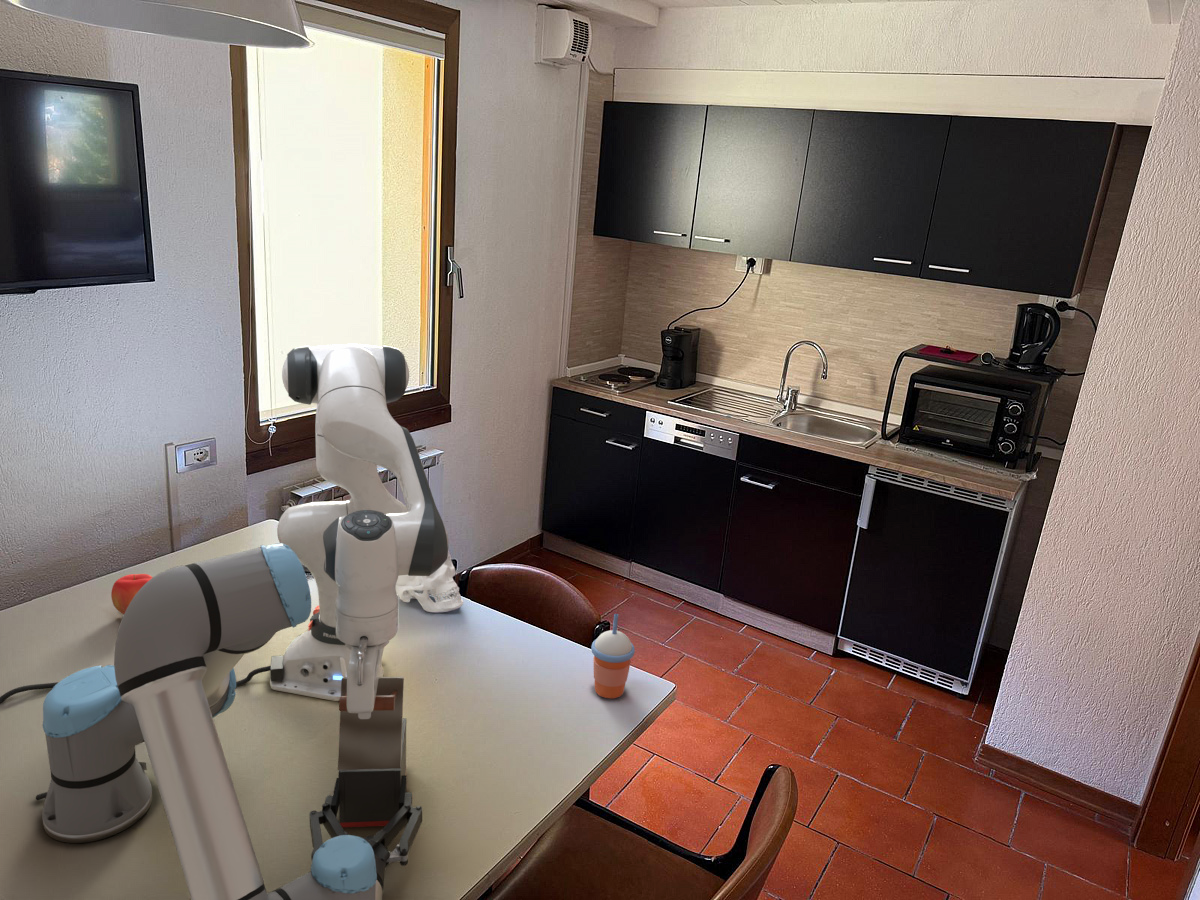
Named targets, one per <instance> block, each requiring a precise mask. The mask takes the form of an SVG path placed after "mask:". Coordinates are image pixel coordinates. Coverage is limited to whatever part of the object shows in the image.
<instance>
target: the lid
mask: <svg viewBox="0 0 1200 900" xmlns="http://www.w3.org/2000/svg"><path fill="white" fill-rule="evenodd" d="M404 683H405V676H383V677H379V680H378V686H377V692H376V698H375V704H374V709H373V711H372V712H371V717H370V718H369V719H359V718H358V713H349V712H348V710H347V677H342V679H341V696H340V699H339V701H338V711H339V726H338V727H339V729H338V730H339V732H338V752H337V754H338V755H337V770H338V771H339V770H357V769H392V768H400V767H401V749H402V720H403V718H404V716H403V715H404V691H405V690H404V688H405V684H404Z"/></svg>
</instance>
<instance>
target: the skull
mask: <svg viewBox="0 0 1200 900" xmlns="http://www.w3.org/2000/svg"><path fill="white" fill-rule="evenodd" d="M456 574H457V572H456V568H455V566H454V564H453V561H452V559H451V554H450V552H449V551H448V557H447V560H446V561H445V562H444V563H443V565H442V566H441V567H440V568H439V569H438V570H436V571H435V572H434V573H433V574H431V575H430V576H408V575H400V576H398V579H397V582H396V593H397V596H398V599H400V600H401V601H402V602H404V603H410V601H411V599H416V600H417V601H418V603H419V604H420V605H421V607H422V609H423V610H424V612H425V611H426V612H427V613H433V614H435V613H436V614H437V613H447V612H451V611H454V610H455V611H456V610H458V609H460V608H463V606H464V602H465V601H464V600H463V599H462V596H461V594H460V587H459V586H458V584H457V583H456V581H455V580H454V577H455V576H456ZM430 596H431V597H433V599H434V600H432V599H431V597H430Z"/></svg>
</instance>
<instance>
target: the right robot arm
mask: <svg viewBox="0 0 1200 900" xmlns="http://www.w3.org/2000/svg"><path fill="white" fill-rule="evenodd" d="M281 379H282V384H283V387H284V389H285V391H286V392H287V395H288V397H289V398H290V399H291V400H292V401H293V402H295V403H299V404H304V405H312V404H316V411H315V428H314V429H315V431H314V432H315V467H316V471H317V474H318V475H319V476H320V477H321V478H322V479H323V480H324V481H326V482H328V483H329V484H332V485H334V486H337V487H339V488H341V489H343V490H345V491H346V492H348V494H349V495H350V498H349V499H347V500H333V501H311V502H306V503H301V504H297V505H294V506H293V505H292V506H289V507H287V508H286V510H284V511H283V513H282V514H281V516H280V517H279V520H278V523H277V528H276V532H277V533H276V534H277V539H278V543H282V544H285V545H287V546H289V547H290V548H291V549H292V550H293V551H294V552H295V554H296V555H297V557H298V558H299V560H300V562H301V563H303V564H304V565H305V566H306V567H307V568H308V570H309V571H310V572H309V573H311V576H312V577H313V579H314V581H315V584H316V589H317V598H318V605H316V607H314V610H313V611H312V615H311V616H310V619H309V623H308V625H307V628H308V629H307V630H306V631H304V632H302V633H301V634H299V635H297V636H296V637H295V638H294V639H293V640H292V641H291V642H290V643H289V644H288V646H287V648H286V649H285V651H284V654H282V655H281V654H280V655H272V656H271V660H270V665H267V666H263V667H259V668H256V669H253V670H251V671H250V672H249V673H248V674H247V676H246V677H244V678H242V679H241V680H238V681H236V688H237V687H240V686H243V685H246V684H247V683H249V682H250V681H251V680H252V678H253V677H255V676H256V675H258V674H262V673H266V672H270V676H269V686H270V688H271V689H272V690H274V691H278V692H283V693H289V694H295V695H300V696H304V697H305V696H306V697H310V698H315V699H316V698H317V699H322V700H327V701H334V702H339V699H340V696H341V679H342V677H347V710H348V712H349V713H358V718H359V719H369V718H370V717H371V712H372V711H373V709H374V704H375V698H376V692H377V686H378V680H379V677H384V668H383V666H382V663H383V662H382V661H383V655H384V649H385V648H386V646H387V645H388V644H389V642H390V641H391V640H392V639H394V638H395V636H397V634H398V631H399V596H398V594H397V593H396V582H397V579H398V576H400V575H408V576H430V575H431V574H433V573H434V572H435V571H436V570H438V569H439V568H440V567H441V566H442V565H443V563H444V562H445V561H446V560H447V557H448V552H449V536H448V532H447V529H446V526H445V524H444V521H443V519H442V516H441V514H440V512H439V510H438V508H437V505H436V502H435V499H434V496H433V494H432V490H431V487H430V484H429V481H428V478H427V475H426V472H425V468H424V466H423V465H424V464H423V463H422V459H421V456H420V453H419V451H418V449H417V445H416V443H415V440H414V438H413V435H412V434H411V433H410V431H409V429H408V428H406V427H405V426H402V425H400V424H399V423H398V422H397V421H396V420H395V419H394V418H393V416H392V414H391V413H390V412H389V408H388V405H387V404H390V403H394V402H397V401H399V400H400V399H401V398H402V397H403V396H404V395H405V394H406V389H407V387H408V385H409V381H410V369H409V365H408V362H407V360H406V357H405V354H404V353H403V352H402V350H400V349H399V348H397V347H393V346H388V345H382V346H378V345H370V344H361V343H359V344H358V343H346V344H332V345H331V344H330V345H329V344H327V345H317V346H310V345H303V346H298V347H294V348H292V349H291V350H290V351H289V352H288V353H287V355H286V358H285V360H284V362H283V365H282V368H281ZM377 466H379V467H381V468H384V469H385V470H388V471H389V472H391V473H392V474H393V475H394V476H395V477H396V479H397V481H398V483H399V487H400V490H401V493H402V497H403V500H404V503H403V502H402V501H400V500H398V498H396V497H395V496H394V495H392V494H391V492H390V491H389V490H387V488H386V487H385V485H384V483H383V481H382V479H381V477H380V474H379V470H378V467H377ZM59 682H60V681H58V682H57V681H56V682H48V683H47V682H46V683H36V684H27V685H22V686H19V687H16V688H13V689H10V690H9V691H7V692H4V694H1V695H0V704H2V703H4V702H5V701H6V700H7V699H8V698H10V697H12V696H14V695H16V694H19V693H24V692H28V691H34V690H45V689H46V690H48V689H52V688H53V687H54V686H55V685H56V684H57V683H59Z"/></svg>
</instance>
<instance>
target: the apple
mask: <svg viewBox="0 0 1200 900" xmlns="http://www.w3.org/2000/svg"><path fill="white" fill-rule="evenodd" d="M153 577H154V576H152V575H150V574H147V573H131V574H126V575H124V576H121V577H119V578H118V579H116V580H115V582H114V583H113V585H112V587H111V594H110V595H111V597H110V598H111V602H112V604H113V606H114V608H115V609H116V610H117V611H118V612H119V613H120V614H121V615H122V616H124V614H125V612H126V609H127V608H128V606H129V604H130V602H131V601H132V599H133V598H134V596H135V595H136V594H137V592H138V591H139V590H140V589H141V588H142V587H143V586H144V585H145V584H146V583H147V582H148V581H149V580H150V579H152V578H153Z"/></svg>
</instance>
